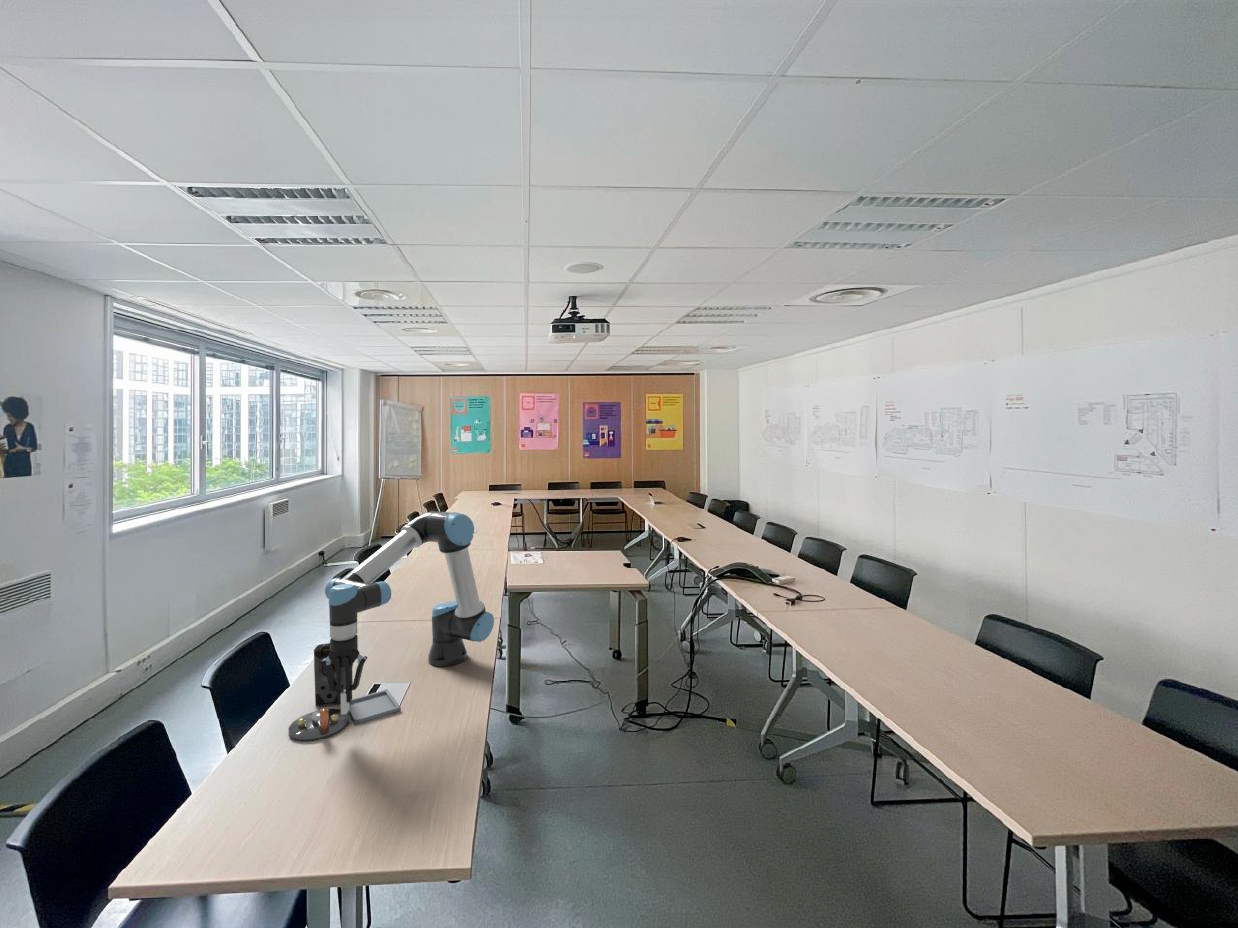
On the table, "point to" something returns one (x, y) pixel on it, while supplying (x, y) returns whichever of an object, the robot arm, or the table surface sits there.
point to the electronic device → (324, 678)
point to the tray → (373, 707)
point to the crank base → (309, 732)
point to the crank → (321, 720)
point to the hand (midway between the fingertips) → (345, 712)
